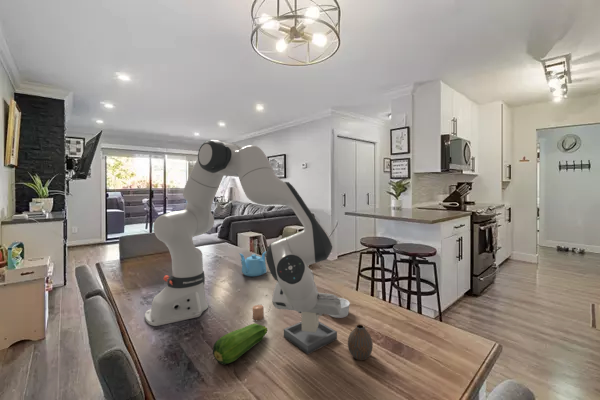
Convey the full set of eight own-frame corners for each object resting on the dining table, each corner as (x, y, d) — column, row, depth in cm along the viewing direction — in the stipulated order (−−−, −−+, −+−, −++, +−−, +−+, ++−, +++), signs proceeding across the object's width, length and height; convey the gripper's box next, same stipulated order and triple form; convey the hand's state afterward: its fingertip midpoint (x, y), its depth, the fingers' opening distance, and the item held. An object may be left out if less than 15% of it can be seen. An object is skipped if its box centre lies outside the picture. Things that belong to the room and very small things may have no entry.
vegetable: (211, 336, 77) (261, 308, 93) (204, 355, 79) (254, 325, 95) (228, 356, 73) (277, 324, 90) (220, 375, 75) (269, 340, 92)
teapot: (268, 277, 147) (268, 257, 146) (239, 279, 144) (238, 259, 143) (266, 268, 161) (266, 250, 160) (239, 270, 158) (239, 252, 157)
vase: (345, 349, 84) (345, 320, 83) (367, 348, 85) (368, 319, 84) (351, 364, 77) (351, 333, 77) (376, 362, 78) (376, 332, 77)
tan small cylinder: (256, 321, 101) (256, 310, 101) (250, 317, 104) (250, 307, 104) (265, 318, 103) (265, 307, 103) (260, 314, 106) (259, 303, 106)
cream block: (315, 332, 87) (315, 304, 87) (301, 330, 88) (301, 302, 88) (318, 325, 92) (318, 298, 91) (305, 323, 93) (304, 296, 92)
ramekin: (351, 309, 110) (351, 298, 109) (347, 320, 101) (347, 309, 101) (329, 306, 112) (328, 296, 112) (323, 317, 104) (323, 305, 104)
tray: (307, 354, 82) (307, 345, 82) (283, 336, 91) (283, 329, 91) (336, 339, 89) (336, 331, 89) (311, 324, 99) (311, 317, 99)
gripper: (340, 286, 79) (344, 305, 90) (271, 280, 85) (282, 299, 95) (338, 309, 75) (342, 326, 86) (266, 301, 81) (278, 318, 91)
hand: (310, 312), depth 90 cm, fingers closed on cream block, 4 cm apart
